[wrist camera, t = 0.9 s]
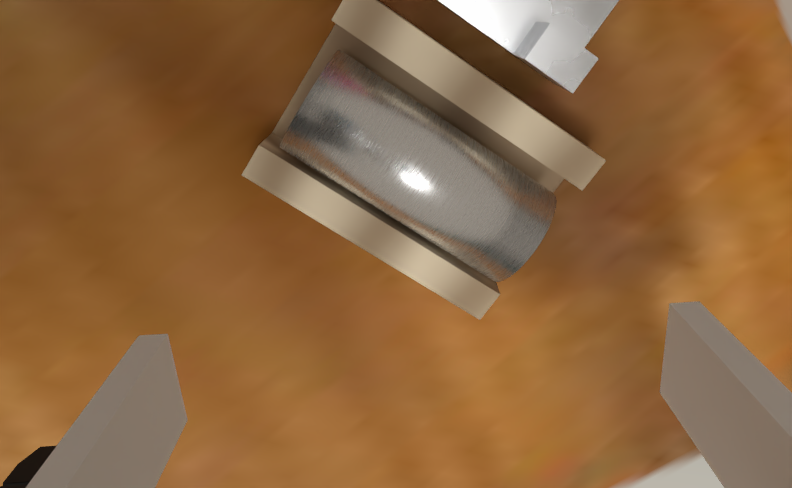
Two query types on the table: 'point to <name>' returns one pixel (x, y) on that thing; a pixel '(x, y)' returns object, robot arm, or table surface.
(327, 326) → the table surface
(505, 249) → the axle
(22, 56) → the table surface
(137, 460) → the robot arm
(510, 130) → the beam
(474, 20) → the cradle
